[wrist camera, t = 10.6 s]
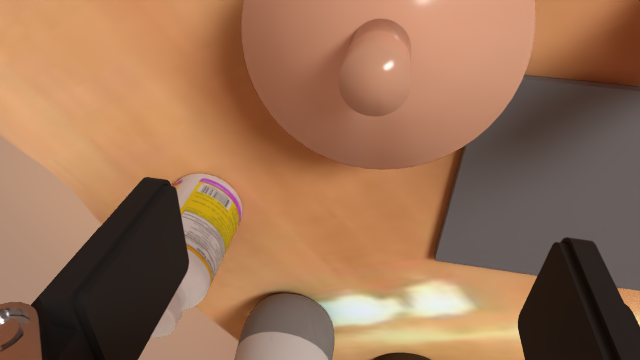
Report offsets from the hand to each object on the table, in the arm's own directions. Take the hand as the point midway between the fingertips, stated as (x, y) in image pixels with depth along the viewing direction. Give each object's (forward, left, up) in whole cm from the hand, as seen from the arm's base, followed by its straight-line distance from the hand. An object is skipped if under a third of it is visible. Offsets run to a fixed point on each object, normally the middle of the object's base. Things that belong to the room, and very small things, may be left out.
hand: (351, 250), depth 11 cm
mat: (-11, -15, -22) cm, 29 cm away
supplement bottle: (-17, +14, -22) cm, 31 cm away
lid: (0, 0, -16) cm, 16 cm away
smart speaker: (-31, +6, -22) cm, 39 cm away
